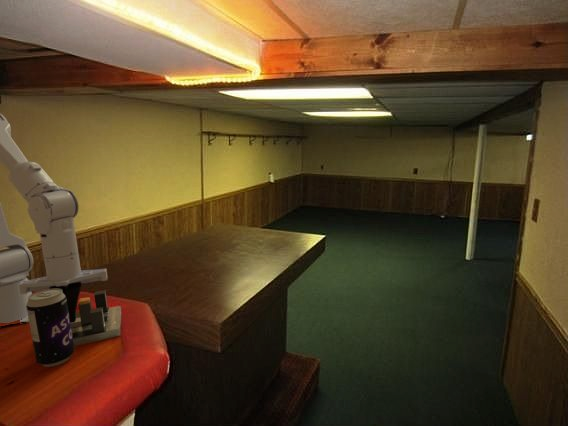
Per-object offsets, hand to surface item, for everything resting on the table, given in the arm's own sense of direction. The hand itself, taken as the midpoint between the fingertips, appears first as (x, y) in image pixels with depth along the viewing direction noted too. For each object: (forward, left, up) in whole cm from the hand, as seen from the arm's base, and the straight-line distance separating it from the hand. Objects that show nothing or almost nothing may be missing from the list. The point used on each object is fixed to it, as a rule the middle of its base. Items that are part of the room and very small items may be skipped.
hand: (71, 320), depth 74 cm
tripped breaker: (0, +3, -1) cm, 3 cm away
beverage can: (+10, -2, -3) cm, 10 cm away
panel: (0, +1, -2) cm, 3 cm away
